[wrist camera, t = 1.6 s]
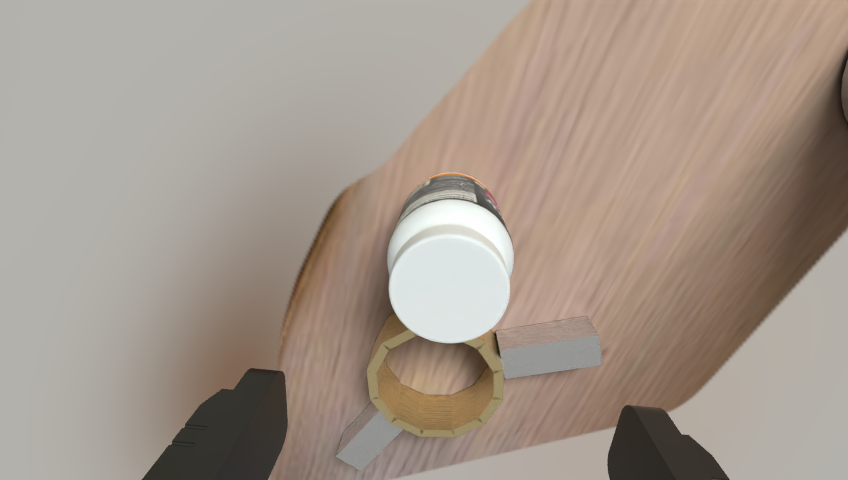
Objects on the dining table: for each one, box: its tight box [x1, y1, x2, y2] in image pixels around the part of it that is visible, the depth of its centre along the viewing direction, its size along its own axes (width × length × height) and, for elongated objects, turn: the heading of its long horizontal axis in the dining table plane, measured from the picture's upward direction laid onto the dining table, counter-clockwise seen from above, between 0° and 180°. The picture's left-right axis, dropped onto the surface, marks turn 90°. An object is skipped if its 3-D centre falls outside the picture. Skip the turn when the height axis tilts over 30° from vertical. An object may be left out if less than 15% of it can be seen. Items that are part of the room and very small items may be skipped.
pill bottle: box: [387, 172, 514, 343], centre depth 20 cm, size 6×6×10 cm
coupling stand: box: [336, 313, 602, 471], centre depth 27 cm, size 20×9×3 cm, turn 123°
